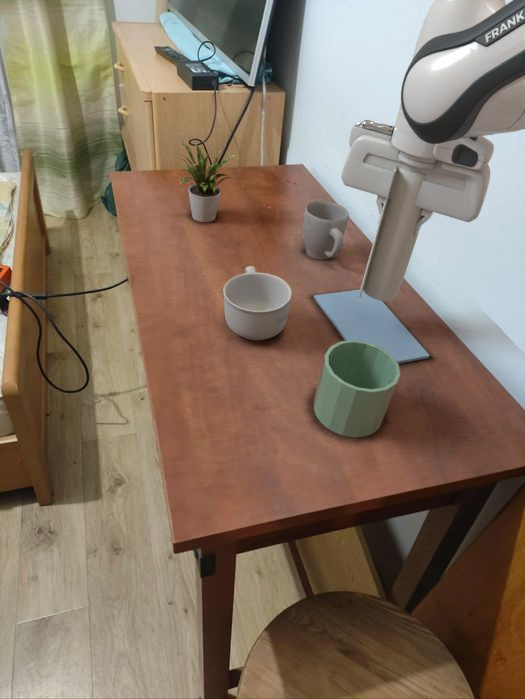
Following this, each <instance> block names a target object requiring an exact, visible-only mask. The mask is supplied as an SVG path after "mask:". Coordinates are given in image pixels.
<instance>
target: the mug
mask: <svg viewBox="0 0 525 699" xmlns="http://www.w3.org/2000/svg"><path fill="white" fill-rule="evenodd" d="M304 208H305V209H304V214H303V220H302V222H303V223H302V235H303V236H302V237H303V242H304V243H303V244H304V246H305V252H306V254H307V256H309V257H310V258H312V259H314V260H319V261H320V260H321V261H323V260H324V261H325V260H328V259H330V258H331V259H332V258H336V257H338V256H339V255H340V253H341V251H342V250H343V246H344V245H343V244H344V235H345V232H346V231H347V226H348V223H349V218H350V213H349V211H348V209H347V208H346V207H344V206H343V205H341V204H338V203H336V202H333V201H325V200H315V201H312V202H309V203H308V204H307V205H306V206H305V207H304Z"/></svg>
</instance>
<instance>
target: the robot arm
mask: <svg viewBox="0 0 525 699" xmlns="http://www.w3.org/2000/svg"><path fill="white" fill-rule="evenodd" d="M522 130H525V0H511V1H509V2H508V3H506V0H433V2H432V4H431V5H430V7H429V9H428V11H427V13H426V15H425V17H424V21H423V23H422V25H421V29H420V31H419V33H418V37H417V41H416V44H415V48H414V51H413V55H412V59H411V61H410V64H409V65H408V67H407V69H406V71H405V74H404V77H403V80H402V84H401V90H400V105H399V108H398V112H397V116H396V120H395V124H394V126H393V125H390V124H386V123H379V122H374V121H373V120H370V119H364V120H363V121H360V122H357V123H355V124H354V125H353V126H352V128H351V129H350V134H349V140H348V144H349V148H350V149H349V151H348V153H347V156H346V159H345V161H344V165H343V167H342V172H341V176H340V177H341V180H342V183H343V185H344V186H346V187H349V188H352V189H355V190H359V191H362V192H365V193H369V194H372V195H376V196H377V197H376V200H375V203H376V207H377V210H378V213H379V219H378V222H377V224H378V223H379V220H380V216H381V213H382V209H383V205H384V202H385V199H386V198H387V194H388V191H389V187H390V184H391V180H392V176H393V173H394V169H395V167H396V168H397V169H396V173H395V176H394V180H393V184H392V187H391V191H390V194H389V199H393V198H394V197H395V194H396V190H397V186H398V183H399V179H400V175H401V174H399V169H400V168H403V169H406V170H410V171H413V172H417V173H420V174H424V175H427V176H426V179H425V180H423V181H422V184H421V187H420V190H419V193H418V196H417V199H416V202H415V206H416V207H419V208H422V209H423V210H422V213H421V215H422V216H423V217H422V218H421V219H420V220H419V222H418V223H417V224H416V227H415V229H414V232H413V235H414V236H417V234H418V232H419V233H420V231H421V228H420V227H422V226H423V225H424V224H425V223H426V222H427V221H428V220H429V219H431V218H432V216H433V215H434V213H435V214H439V215H443V216H446V217H449V218H452V219H456V220H459V221H462V222H466V223H471V222H472V221H474V220H476V219H477V218H478V217H479V215H480V213H481V211H482V208H483V205H484V202H485V200H486V196H487V193H488V189H489V186H490V179H491V168H490V165H489V163H490V161H491V160H492V157H493V154H494V151H495V145H494V143H493V142H492V141H491V140H489V139H488V138H487V137H486V136H493V135H498V134H499V135H500V134H509V133H515V132H518V131H522ZM419 230H420V231H419ZM418 235H419V234H418Z"/></svg>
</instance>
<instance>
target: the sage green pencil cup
mask: <svg viewBox="0 0 525 699" xmlns="http://www.w3.org/2000/svg"><path fill="white" fill-rule="evenodd" d="M400 378H401V370H400V363H399V364H398V363H397V362H396V360H395V359H394V357H393V356H392V355H391V354H390V353H388V352H387V351H386V350H384V349H383V348H381V347H379V346H377V345H374V344H372V343H369V342H365V341H358V340H348V341H345V340H341V341H339V342H336V343H334V344H333V345H330V347H329V348H328V349H327V351H326V352H325V354H324V356H323V361H322V366H321V370H320V374H319V377H318V382H317V386H316V389H315V394H314V398H313V411H314V414H315V416H316V418H317V420H318V421H319V423H321V424H322V426H324V427H325V428H326V429H328V430H329V431H330V432H332V433H335V434H337V435H339V436H342V437H347V438H364V437H368V436H370V435H372V434H374V433H376V432H377V431H378V430H379V429H380V427H381V426H382V423H383V421H384V419H385V416H386V413H387V411H388V409H389V406H390V403H391V401H392V399H393V396H394V393H395V390H396V388H397V386H398V383H399V379H400Z"/></svg>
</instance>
